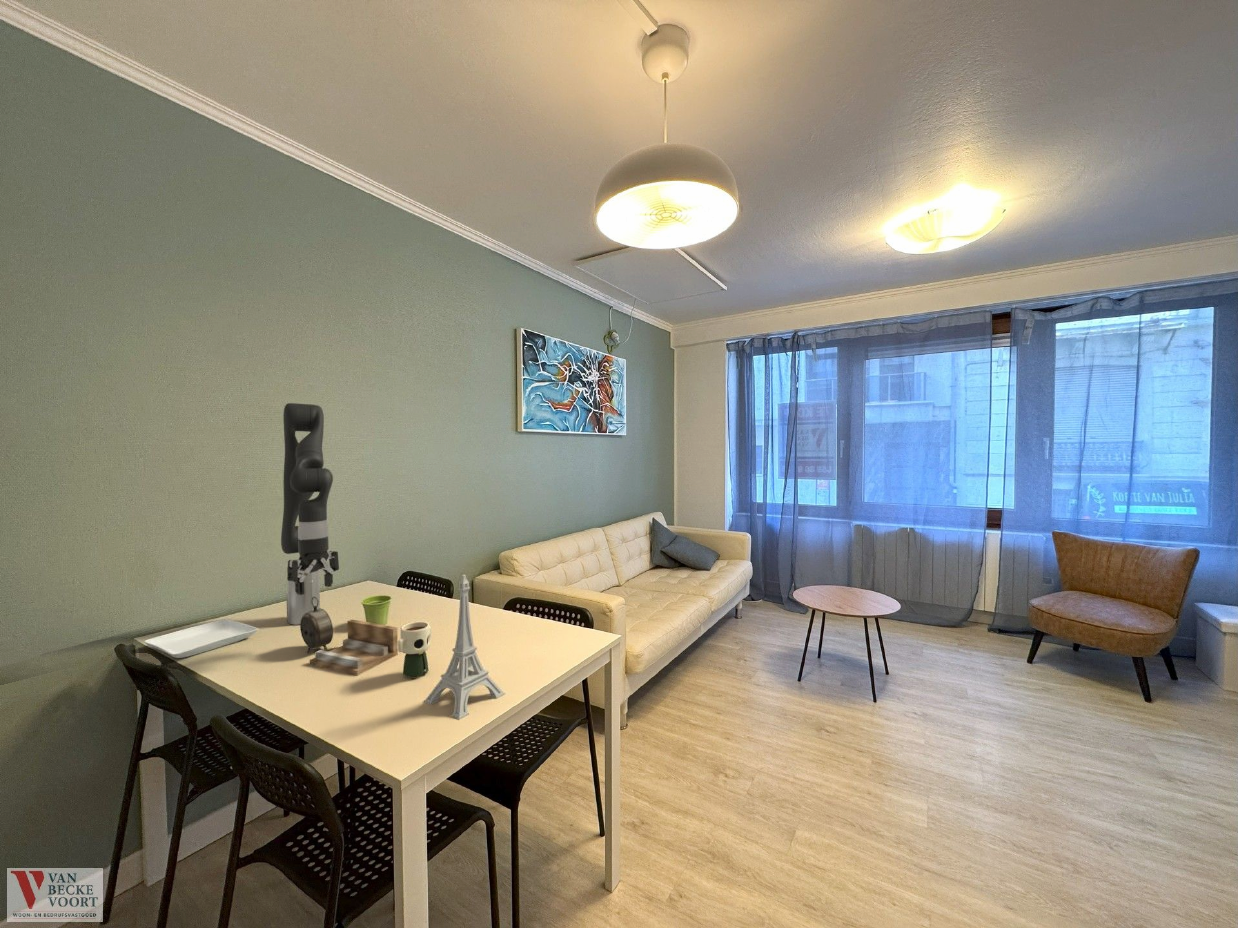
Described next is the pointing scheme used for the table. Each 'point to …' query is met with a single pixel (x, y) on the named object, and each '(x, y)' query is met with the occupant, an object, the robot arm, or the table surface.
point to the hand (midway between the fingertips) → (314, 590)
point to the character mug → (415, 647)
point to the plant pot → (376, 609)
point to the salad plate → (201, 638)
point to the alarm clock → (316, 628)
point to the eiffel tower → (463, 663)
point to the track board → (360, 648)
